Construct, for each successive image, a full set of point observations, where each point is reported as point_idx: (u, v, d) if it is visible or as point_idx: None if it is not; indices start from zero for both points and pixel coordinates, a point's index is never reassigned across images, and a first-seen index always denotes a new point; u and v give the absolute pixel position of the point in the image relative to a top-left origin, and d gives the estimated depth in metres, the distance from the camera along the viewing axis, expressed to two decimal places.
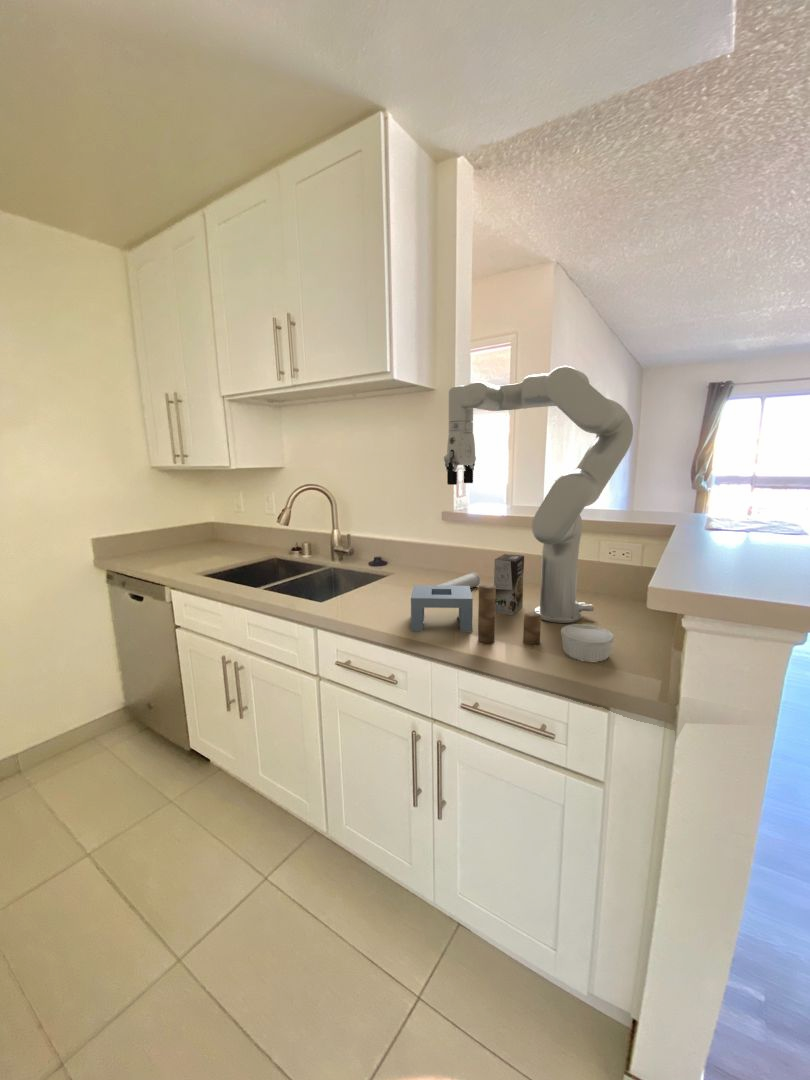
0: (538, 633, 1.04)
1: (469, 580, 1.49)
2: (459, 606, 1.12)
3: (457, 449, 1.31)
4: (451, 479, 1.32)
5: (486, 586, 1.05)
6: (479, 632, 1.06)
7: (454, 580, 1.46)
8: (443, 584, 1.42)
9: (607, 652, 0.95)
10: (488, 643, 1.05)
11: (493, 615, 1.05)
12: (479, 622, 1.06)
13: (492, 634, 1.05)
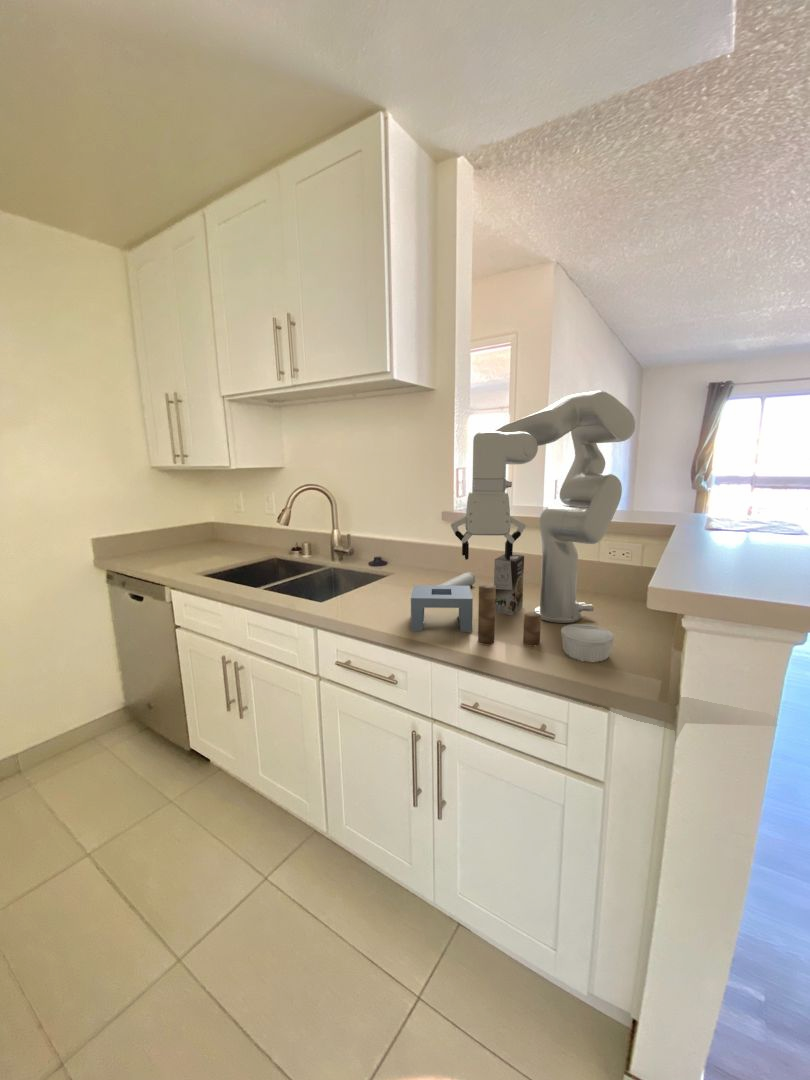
0: (538, 633, 1.04)
1: (466, 579, 1.50)
2: (459, 606, 1.12)
3: None
4: None
5: (486, 586, 1.05)
6: (479, 632, 1.06)
7: (452, 580, 1.47)
8: (443, 584, 1.42)
9: (607, 652, 0.95)
10: (488, 643, 1.05)
11: (493, 615, 1.05)
12: (479, 622, 1.06)
13: (492, 634, 1.05)
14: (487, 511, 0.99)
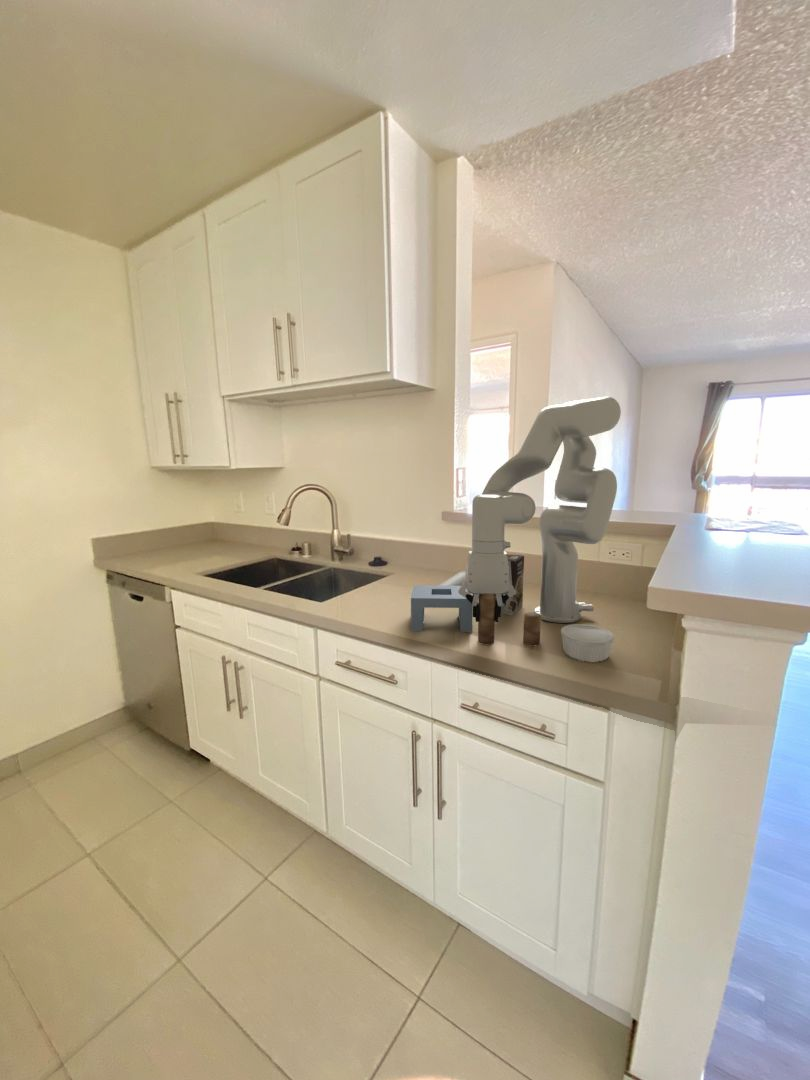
0: (538, 633, 1.04)
1: (462, 578, 1.51)
2: (459, 606, 1.12)
3: None
4: None
5: None
6: (479, 632, 1.06)
7: (450, 579, 1.47)
8: (443, 584, 1.42)
9: (607, 652, 0.95)
10: (488, 643, 1.05)
11: (493, 615, 1.05)
12: (479, 622, 1.06)
13: (492, 634, 1.05)
14: (487, 572, 1.02)
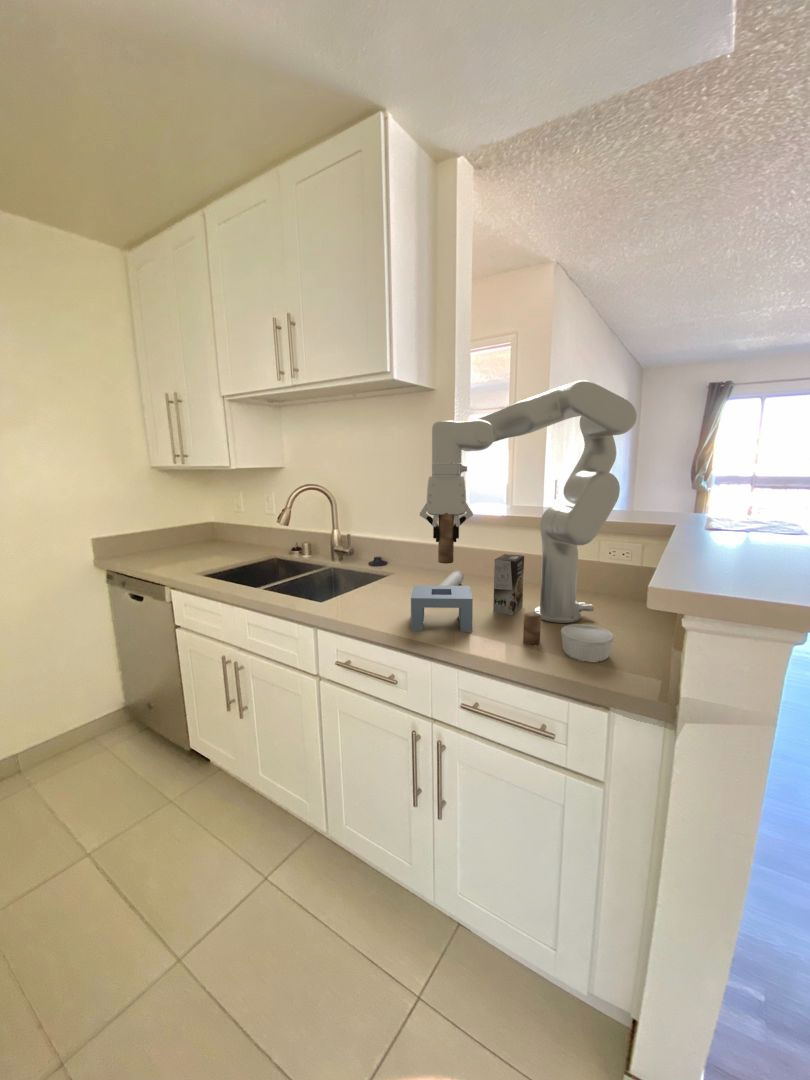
0: (538, 633, 1.04)
1: (458, 578, 1.52)
2: (459, 606, 1.12)
3: None
4: None
5: None
6: (439, 552, 1.14)
7: (448, 579, 1.48)
8: (442, 584, 1.42)
9: (607, 652, 0.95)
10: (447, 562, 1.13)
11: (452, 535, 1.12)
12: (439, 543, 1.13)
13: (451, 554, 1.13)
14: (445, 493, 1.09)
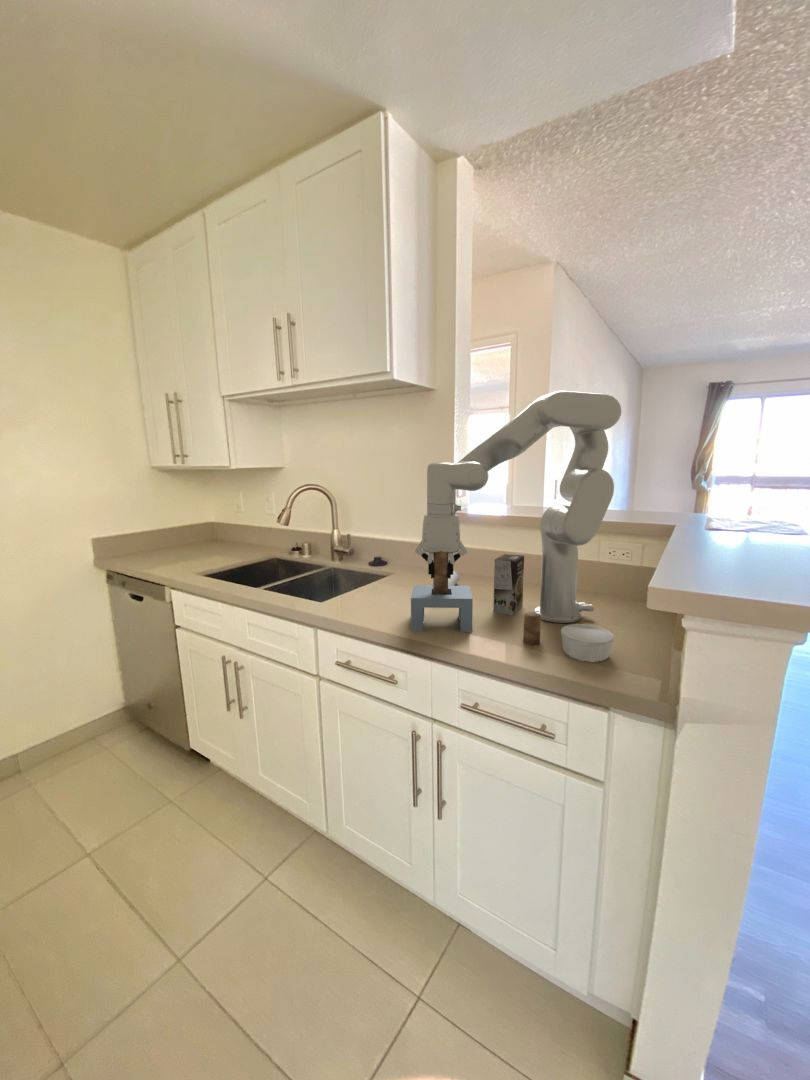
0: (538, 633, 1.04)
1: (455, 577, 1.53)
2: (459, 606, 1.12)
3: None
4: None
5: None
6: (434, 588, 1.17)
7: None
8: None
9: (607, 652, 0.95)
10: None
11: (446, 572, 1.16)
12: (434, 579, 1.17)
13: (445, 589, 1.16)
14: (439, 532, 1.13)
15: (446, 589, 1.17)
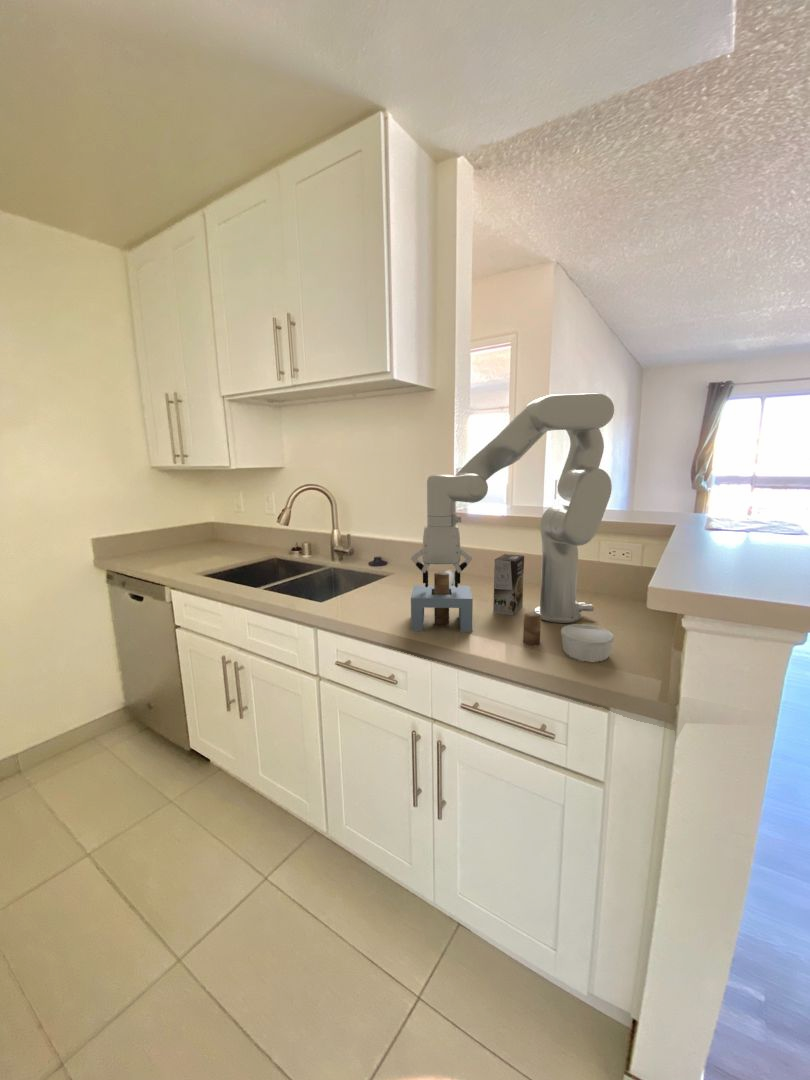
0: (538, 633, 1.04)
1: (452, 577, 1.53)
2: (459, 606, 1.12)
3: None
4: None
5: (441, 573, 1.18)
6: (435, 615, 1.19)
7: None
8: None
9: (607, 652, 0.95)
10: (443, 624, 1.18)
11: None
12: None
13: (446, 616, 1.18)
14: (440, 544, 1.13)
15: (447, 616, 1.18)
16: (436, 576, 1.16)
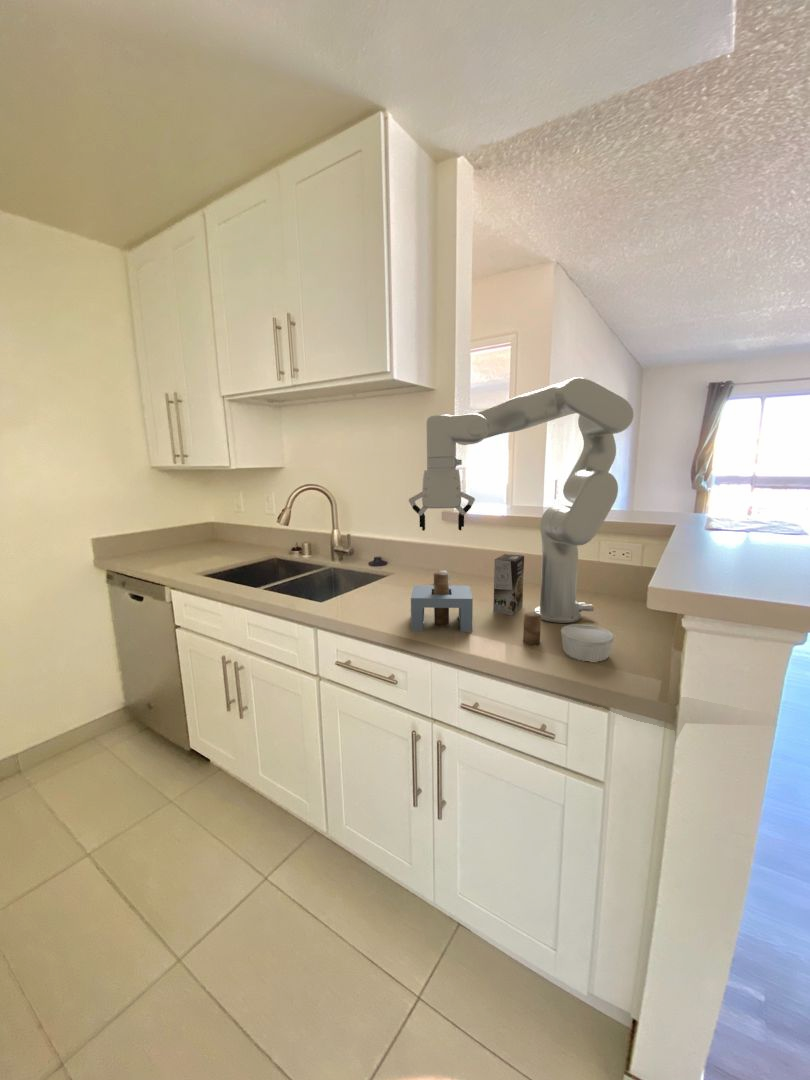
0: (538, 633, 1.04)
1: None
2: (459, 606, 1.12)
3: None
4: None
5: (440, 573, 1.18)
6: (435, 615, 1.19)
7: None
8: None
9: (607, 652, 0.95)
10: (443, 624, 1.18)
11: None
12: None
13: (446, 616, 1.18)
14: (440, 486, 1.11)
15: (447, 616, 1.18)
16: (435, 576, 1.16)
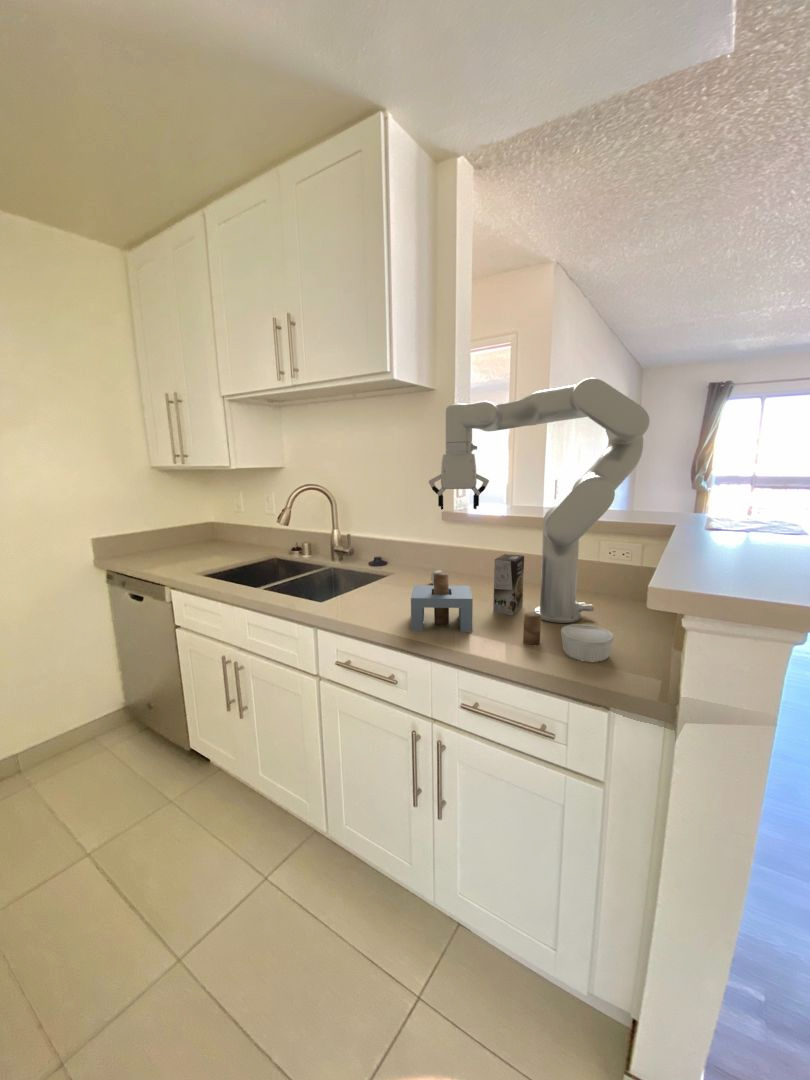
0: (538, 633, 1.04)
1: None
2: (459, 606, 1.12)
3: None
4: None
5: (440, 573, 1.18)
6: (435, 615, 1.19)
7: None
8: None
9: (607, 652, 0.95)
10: (443, 624, 1.18)
11: None
12: None
13: (446, 616, 1.18)
14: (457, 469, 1.22)
15: (447, 616, 1.18)
16: (435, 576, 1.16)
